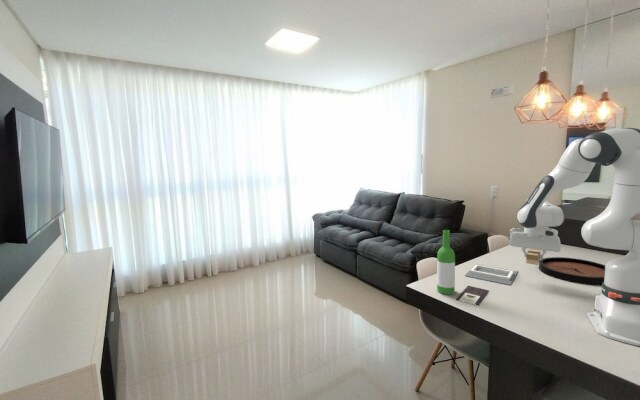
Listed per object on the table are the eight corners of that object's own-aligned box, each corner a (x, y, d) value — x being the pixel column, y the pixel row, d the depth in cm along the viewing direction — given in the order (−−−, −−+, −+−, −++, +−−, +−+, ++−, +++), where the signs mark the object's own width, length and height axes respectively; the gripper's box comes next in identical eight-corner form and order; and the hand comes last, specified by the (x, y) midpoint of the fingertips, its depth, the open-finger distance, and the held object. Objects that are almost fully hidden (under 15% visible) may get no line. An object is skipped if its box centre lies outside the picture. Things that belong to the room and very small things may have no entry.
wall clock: (628, 269, 150) (600, 282, 136) (628, 277, 151) (599, 291, 137) (556, 253, 178) (526, 263, 164) (556, 260, 179) (526, 270, 164)
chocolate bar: (488, 290, 141) (478, 304, 127) (488, 292, 141) (478, 306, 128) (468, 285, 147) (456, 298, 133) (467, 287, 147) (456, 300, 134)
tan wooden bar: (537, 265, 140) (538, 255, 139) (526, 263, 143) (526, 254, 142) (540, 258, 149) (540, 250, 148) (529, 257, 152) (529, 248, 151)
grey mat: (510, 285, 146) (510, 281, 146) (464, 276, 160) (464, 272, 159) (517, 272, 162) (518, 268, 162) (475, 264, 176) (475, 261, 176)
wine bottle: (434, 288, 146) (434, 229, 142) (449, 287, 146) (450, 228, 143) (441, 295, 138) (442, 232, 134) (457, 294, 139) (458, 231, 135)
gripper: (508, 228, 149) (507, 255, 150) (561, 233, 135) (559, 263, 136) (510, 226, 153) (509, 252, 155) (561, 231, 140) (560, 259, 141)
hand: (533, 257), depth 145 cm, fingers closed on tan wooden bar, 4 cm apart
